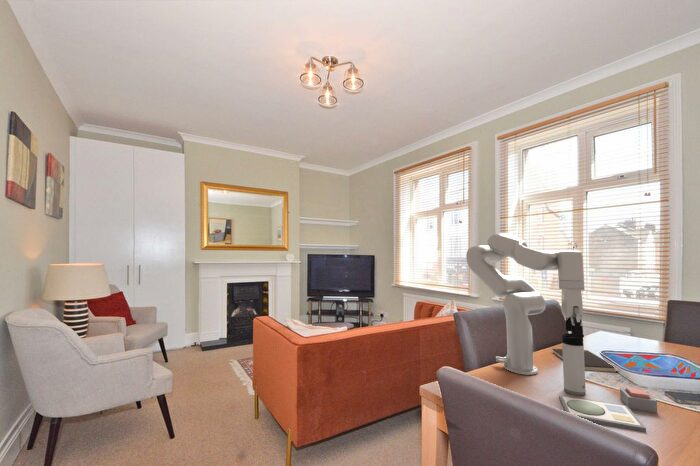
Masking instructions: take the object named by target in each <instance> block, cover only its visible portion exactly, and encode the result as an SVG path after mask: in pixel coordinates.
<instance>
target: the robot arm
mask: <svg viewBox="0 0 700 466" xmlns="http://www.w3.org/2000/svg"><path fill="white" fill-rule="evenodd" d="M465 256H466V262H467V266H468V267H469V269H470V270H471V271H472V273H473V274H475V275H476V276H477V277H478V278H479V279H480V280H481V281H482V282H483V283H484V285H486V287H487V288H488V289H489V290H490V291H491V292H492V293H493V294H494V295H495V296H496V297H498V298H503V300H502V301H503V302H502V306H503V310H504V315H505V322H506V324H505V325H506V349H507V350H506V352H507V353H506V356H495V361H496V362H498V363H501V364H502V363H503V368H504V367H505V368H504V369H505V370H506V369H507V370H506V371H508V370H509V371H508V372H510V371H511V373H513V372H514V373H513V374H518V375H524V376H525V375H526V376H531V375H536V374H538V372H539V369H538V367H537V366H535V365H534V347H533V346H534V344H533V343H534V342H533V326H532V323H531V320H530V319H529V316H531V315H534V316H535V315H540V314H542V313H543V312H544V311H545V310H546V307H547V305H546V300H545V298H544V297H543V295H542V294H541V293H540V292H539V291H538V290H536V288H534V287H533V286H532V285H531V284H530V283H529V282H528V281H527V280H526V279H524V278H523V277H521V276H519V275H505V274H503V273H502V272H501V271H499V269H498V268H496V267H495V266H494V265H492V264H490V263H499V262H501V261H503V260H504V259H506V258H507V257H509V258H511V259H513V260H514V261H515V263H517V264H519V265H520V266H522V267H525V268H528V269H530V270H533V271H558V273H557V274H558V276H557V277H558V289H559V290H561V315H562V316H563V317H565V320H564V321H565V330H566V332H570V333H572V337H575V338H583V339H584V337H583V335H584V329H583V327H584V326H583V321H582V319H583V318H584V307H583V306H584V305H583V295H582V291H585V288H586V287H585V275H584V258H583V253H582V251H580V250H551V249H549V250H548V249H545V250H543V249H540V250H538V249H534V248H530V247H528V244H527V242H526V241H525V240H523V239H520V238H519V237H518V236H517V235H516V234H513V233H494V234H491V235H490V236H489V237H488V239H487V244H484V245H482V244H479V245H473V246H471V247H469V248H468V249H467V251H466V255H465Z"/></svg>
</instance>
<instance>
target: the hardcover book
mask: <svg viewBox="0 0 700 466" xmlns="http://www.w3.org/2000/svg"><path fill="white" fill-rule="evenodd" d="M551 350H552V353H553V354H555V355H556V356H558V358H560V359H561V360H563V350H562V348H551ZM607 362H608V361H607ZM607 362H606V360H605V359H603V358H602V357H600V356H599V355H596V354H595V353H593V352H592V351H590V350H588V349H587V350H586V349H584V364H585V371H598V372H612V373H614V372H615V373H617V372H616V371H615V369H614V367H613V366H614V365H613V364H612V365H613V366H612V365H610V364H611V363H610V364H608V363H609V362H608V363H607Z"/></svg>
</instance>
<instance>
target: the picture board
mask: <svg viewBox="0 0 700 466" xmlns="http://www.w3.org/2000/svg"><path fill="white" fill-rule="evenodd" d="M558 397H559V401H560V403H561V405H562V408H563V410H564V412H565V411H566V412H569V413H571V414H574V415H577V416H579V417H581V418H584V419H587V420H589V421H592V422H594V424H599V425H604V426H611V427H617V428H622V429H628V430H634V431H639V432H644V433H646V432H647V428H646V426H645V425H644V424H643V423H642V422H641V421H640V419H639V418H638V417H637V416H636V414H634V412H633V411H632V409H629V407H628V406H627V405H625V404H619V403H613V402H605V401H599V400H592V399H586V398H580V397H574V396H566V395H559V396H558ZM566 412H565V413H566ZM592 422H591V423H592Z"/></svg>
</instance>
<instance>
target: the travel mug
mask: <svg viewBox="0 0 700 466" xmlns="http://www.w3.org/2000/svg"><path fill="white" fill-rule="evenodd" d="M584 338H585V335H584V334H583V338H575V337H572V333H571V332H570V333H563V334H562V337H561V340H562V341H561V346H562V348H561V349H562V350H563V359H562V369H563V372H562V373H563V390H564V391H565V392H566V393H568V394H569V395H570V394H571V395H575V396H586V393H587V391H586V372H585V371H586V370H585V364H584V350H585V347H584Z"/></svg>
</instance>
